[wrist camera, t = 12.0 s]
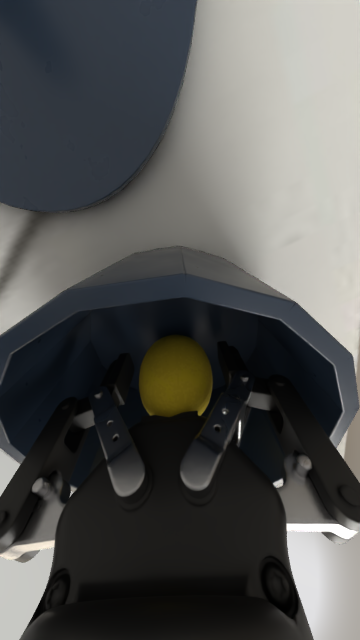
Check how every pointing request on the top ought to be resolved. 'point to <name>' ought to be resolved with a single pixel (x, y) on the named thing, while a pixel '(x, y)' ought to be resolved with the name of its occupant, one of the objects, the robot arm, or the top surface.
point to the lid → (85, 95)
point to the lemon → (175, 377)
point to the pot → (160, 321)
